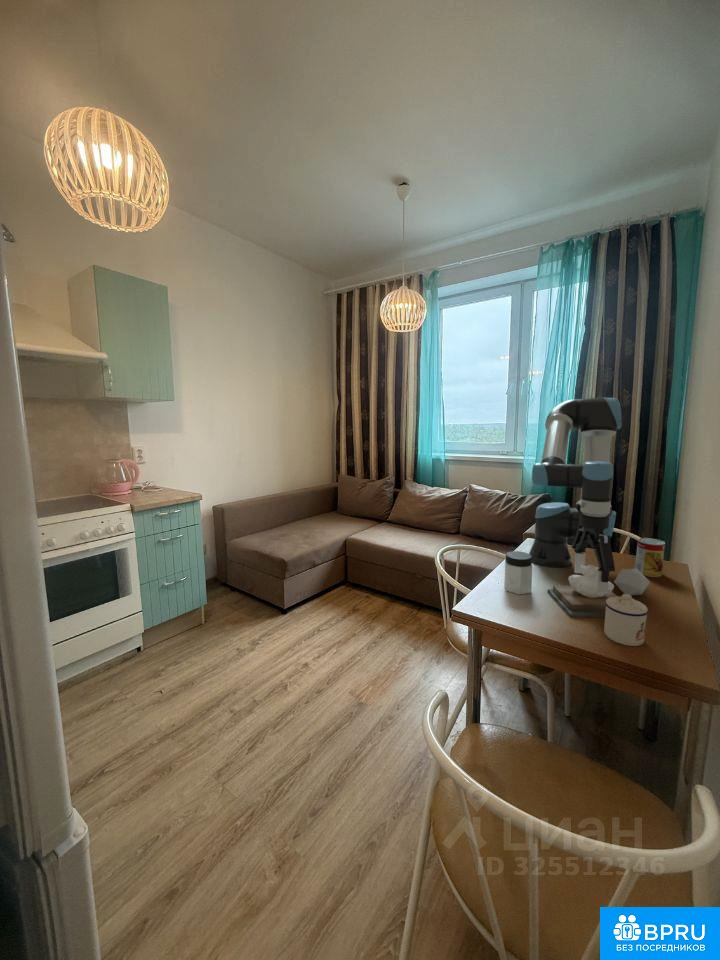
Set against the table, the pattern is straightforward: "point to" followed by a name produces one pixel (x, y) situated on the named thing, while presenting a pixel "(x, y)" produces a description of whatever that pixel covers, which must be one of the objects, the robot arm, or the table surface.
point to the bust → (588, 582)
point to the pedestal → (579, 602)
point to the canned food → (650, 556)
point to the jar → (518, 572)
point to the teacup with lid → (625, 620)
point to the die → (631, 581)
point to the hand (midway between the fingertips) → (589, 581)
